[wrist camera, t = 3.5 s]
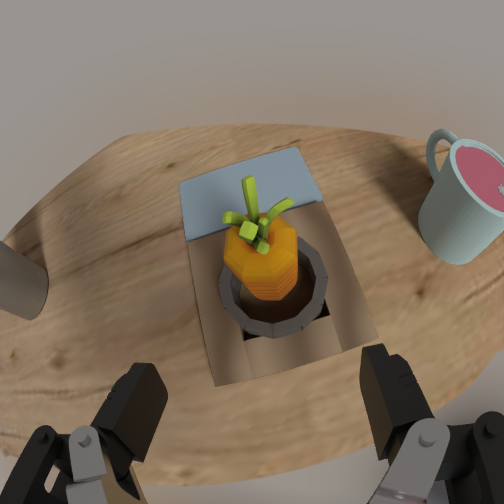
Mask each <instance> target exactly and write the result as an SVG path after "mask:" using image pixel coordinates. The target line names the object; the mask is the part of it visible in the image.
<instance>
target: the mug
mask: <svg viewBox="0 0 504 504" xmlns="http://www.w3.org/2000/svg"><path fill="white" fill-rule="evenodd" d="M440 139H445V140H447V141H448V142H449V143H450V144H451V145H452V146H451V148H450V151H449V153H448V155H447V157H446V159H445V161H444V164H443V166H442V168H441V170H440V172H438V169H437V167H436V162H435V148H436V144H437V143H438V141H439V140H440ZM426 159H427V165H428V169H429V172H430V175H431V177H432V179H433V181H434V184H433V186H432V188H431V189H430V191H429V193H428V195H427V197H426V199H425V201H424V202H423V204H422V206H421V208H420V211H419V215H418V224H419V229H420V233H421V235H422V237H423V240H424V241H425V243H426V245H427V246H428V247H429V249H430V250H431V251H432V252H433V253H434V254H435V255H436V256H437V257H439V258H440V259H442V260H443V261H445V262H447V263H450V264H454V265H462V264H466V263H468V262H470V261H471V260H472V259H474V258H475V257H476V256H477V255H478V254H479V253H480V252H481V251H483V250H484V249H485V248H486V247H487V246H488V245H489V244H490V243H491V242H492V241H493V240H494V239H495V238H496V237H498V236H499V235H500V234H501V233H502V232H503V231H504V159H503V158H502V157H501V156H500V155H499V154H497V153H496V152H495V151H494V150H492V149H491V148H490V147H488V146H486V145H484V144H482V143H480V142H478V141H475V140H470V139H461V140H459V139H458V138H457V137H456V136H455V135H454V134H453V133H452V132H450V131H448V130H446V129H439V130H436V131H434V132H433V133H432V134H431V136H430V138H429V140H428V143H427V147H426Z"/></svg>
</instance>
